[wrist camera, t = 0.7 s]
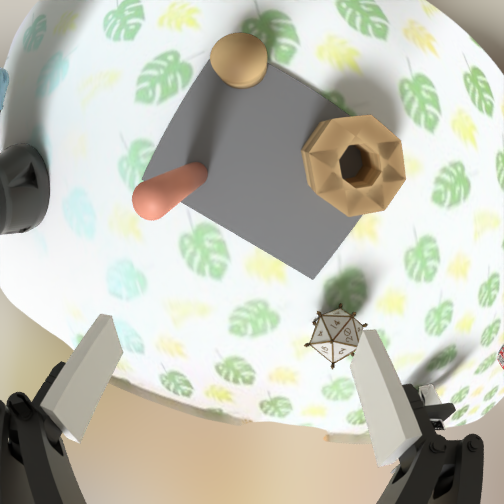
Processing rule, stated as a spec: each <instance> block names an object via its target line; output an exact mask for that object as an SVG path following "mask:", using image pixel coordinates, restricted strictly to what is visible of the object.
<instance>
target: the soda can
mask: <svg viewBox="0 0 504 504" xmlns="http://www.w3.org/2000/svg"><path fill="white" fill-rule="evenodd" d="M497 359H498V361H499V363H500V365H501V366H502V368H503V369H504V346H503V347H502V348H501V350H500V351H499V354H498V358H497Z"/></svg>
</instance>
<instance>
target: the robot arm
mask: <svg viewBox="0 0 504 504" xmlns="http://www.w3.org/2000/svg"><path fill="white" fill-rule="evenodd" d="M8 84H9V75H8V73H7V71H6V70H5V69H3V68H0V112H1V110H2V109H3V101H4V97H5V94H6V90H7V87H8ZM48 202H49V180H48V174H47V170H46V167H45V164H44V162H43V159H42V157H41V156H40V154H39V153H38V151H37V150H36V149H35V148H34V147H32V146H31V145H29V144H17V145H12V146H10V147H8V148H6V149H5V150H4V151H3V152H1V153H0V235H2V234H13V233H24V232H27V231H29V230H31V229H33V228H35V227H36V226H38V225H39V224H40V223H41V222H42V220H43V218H44V216H45V214H46V211H47V208H48ZM122 354H123V350H122V347H121V344H120V341H119V338H118V335H117V332H116V329H115V325H114V322H113V319H112V316H110V315H104V314H100V315H99V316H98V318H97V319H96V320H95V322H94V323H93V325H92V326H91V327H90V329H89V330H88V332H87V333H86V334H85V336H84V337H83V339H82V340H81V342H80V343H79V344H78V346H77V347H76V349H75V350H74V352H73V353H72V355H71V356H70V358H69V359H68V361H67V362H66V363H64V362H62V361H61V362H60V363H59V364H57V365H56V366H55V367H54V368H53V369H52V371H51V372H50V374H49V376H48V377H47V378H46V380H45V382H44V383H43V385H42V386H41V388H40V389H39V391H38V393H37V394H36V396H35V397H34V399H33V401H32V402H31V401H30V399H29V398H28V397H27V396H26V395H25V394H24V393H22V392H16V393H13V394H12V395H11V396H10V397H9V398H8V400H7V405H5V404H4V403H3V402H2V401H1V400H0V504H86V502H85V499H84V497H83V495H82V493H81V490H80V488H79V486H78V483H77V481H76V478H75V476H74V473H73V471H72V468H71V465H70V463H69V459H68V456H67V453H66V450H65V447H64V444H63V440H62V438H61V437H60V436H61V434H62V433H64V435H65V436H66V437H67V438H68V439H71V440H73V441H76V442H78V443H81V440H82V438H83V436H84V433H85V431H86V429H87V426H88V424H89V422H90V420H91V418H92V415H93V413H94V411H95V409H96V407H97V405H98V402H99V400H100V398H101V396H102V394H103V392H104V390H105V388H106V386H107V384H108V382H109V380H110V378H111V376H112V374H113V372H114V370H115V368H116V366H117V364H118V362H119V360H120V358H121V356H122ZM350 369H351V372H352V375H353V378H354V382H355V385H356V388H357V391H358V395H359V398H360V402H361V405H362V409H363V412H364V416H365V419H366V423H367V426H368V430H369V434H370V438H371V441H372V445H373V449H374V453H375V457H376V461H377V465H378V467H381V466H385V465H389V464H393V463H394V462H395V461H396V460H397V459H398V458H399V461H400V464H399V465H398V466H397V467H396V468H395V469H393V470H392V472H391V473H394V472H395V473H394V475H393V476H392V478H391V480H390V482H389V484H388V485H387V487H386V489H385V491H384V492H383V494H382V496H381V497H380V499H379V501H378V502H377V503H376V504H480V500H481V492H482V481H483V462H484V461H483V460H484V445H483V441H482V439H481V438H480V437H479V436H478V435H476V434H469V435H468V436H466V437H465V438H464V439H463V440H446V439H445V437H443V436H441V435H437V434H436V432H435V430H434V428H433V425H432V423H431V420H430V418H429V416H428V413H427V411H426V409H425V408H424V404H423V402H422V401H421V397H420V395H419V393H418V391H417V390H416V389H415V388H414V387H413V386H412V385H411V384H406V385H402V384H401V382H400V380H399V377H398V375H397V373H396V371H395V368H394V366H393V364H392V362H391V360H390V358H389V355H388V353H387V351H386V349H385V347H384V345H383V343H382V341H381V339H380V337H379V335H378V333H377V331H376V330H363V332H362V335H361V338H360V340H359V343H358V346H357V349H356V352H355V354H354V357H353V359H352V362H351V365H350ZM8 438H9V442H8Z"/></svg>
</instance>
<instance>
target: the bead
mask: <svg viewBox="0 0 504 504" xmlns="http://www.w3.org/2000/svg"><path fill="white" fill-rule="evenodd" d="M349 145H354V146H355V147H356V148H357V149H359V150H360V153H361V159H362V167H361V168H360V170H359V171H358V173H357V174H356V176H355V177H352V178H346V179H342V176H341V170H340V164H339V159H340V158H341V156H342V155H343V153H344V152H345V150H346V149H347V147H348V146H349ZM301 154H302V158H303V163H304V168H305V173H306V178H307V183H308V185H309V186H310V187H311V189H312V190H313V191H314V192H315V193H316V194H317V195H318V196H320V197H321V198H323V199H324V200H325V201H327V202H328V203H330V204H331V205H333V206H334V207H335V208H337V209H338V210H340V211H341V212H342V213H344V214H345V215H346V216H348V217H352V216H357V215H363V214H368V213H373V212H378V211H384V210H385V209H386V208H387V206H388V205H389V204H390V202H391V201H392V199H393V198H394V196H395V195H396V193H397V192H398V190H399V189H400V188H401V186H402V185H403V183H404V182H405V180H406V176H405V167H404V159H403V151H402V144H401V140H400V139H399V138H398V137H396V136H395V135H394V134H393V133H392V132H391V131H390V130H389V129H387V128H386V127H385V126H384V125H383V124H382V123H380V122H379V121H378V120H377V119H376V118H374V117H373V116H372V115H362V116H352V117H343V118H335V119H330V120H326V121H322V122H320V123H319V124H318V126H317V127H316V129H315V130H314V131H313V133H312V134H311V136H310V137H309V139H308V140H307V142H306V143H305V145H304V146H303V148H302V149H301Z"/></svg>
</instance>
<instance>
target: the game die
mask: <svg viewBox="0 0 504 504" xmlns="http://www.w3.org/2000/svg"><path fill="white" fill-rule="evenodd" d="M317 314H318V316H320V317H319V319H318V321H317V323H316V322H315V321H314V322H313V325H316V326H315V329H314V332H313V335H312V338H311V340H310V343H306V344H305V345H304V346H305V347H307V346H309V345H310V346H312V347H313V348H314V349H315V350H317V351H318V352H319V353H320V354H321V355H323V356H324V357H325V358H326V359H327V360H329V361H330V362H331V363H332V365H331V368H332V369H333V368H334V366H335V365H334V363H336V362H338V361H340V360H341V359H343V358H345V357H347V356H349V355H350V354H351V355H352V356H354V353H353V352H355V351H356V349H357V346H358V343H359V340H360V338H361V335H362V331H363V327H367V325H368V324H366V323H365V324H363V325H362V324H361V323H360V322H359V321H357V320H356V319H355V318H354V316H355V315H356V312H353V313H352V315H350V314H349V313H347V312H346V311H344V310H343V309H342V304H341V303H340V304H339V309H336V310H333V311H331V312H328V313H325V314H321V312H319V311H317Z"/></svg>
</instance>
